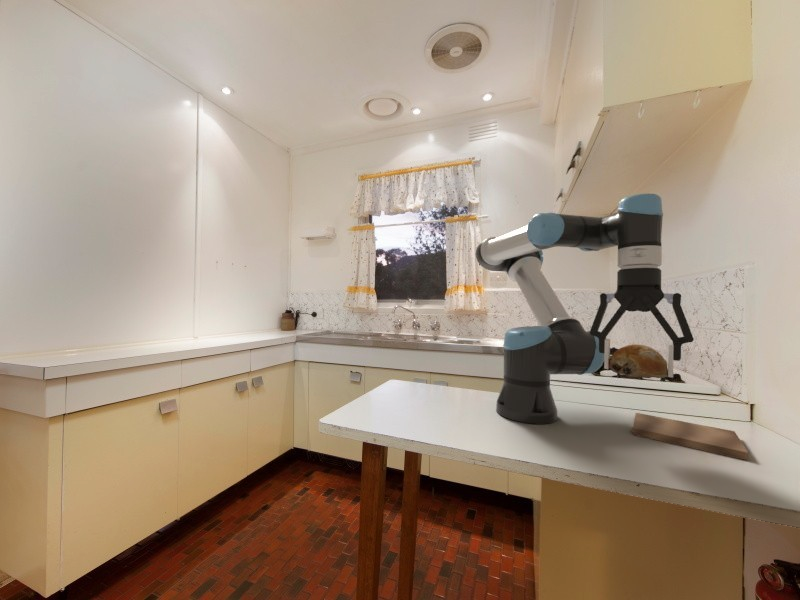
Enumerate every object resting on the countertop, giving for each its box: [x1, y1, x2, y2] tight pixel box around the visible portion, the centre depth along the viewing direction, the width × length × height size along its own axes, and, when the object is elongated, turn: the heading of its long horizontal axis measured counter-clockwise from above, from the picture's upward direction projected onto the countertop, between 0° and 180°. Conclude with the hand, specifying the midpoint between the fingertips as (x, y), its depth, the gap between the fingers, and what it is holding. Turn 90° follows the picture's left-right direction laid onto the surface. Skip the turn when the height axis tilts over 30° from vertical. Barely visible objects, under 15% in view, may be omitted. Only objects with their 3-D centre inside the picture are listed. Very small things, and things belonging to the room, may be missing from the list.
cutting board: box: [632, 412, 749, 461], centre depth 72 cm, size 18×14×2 cm
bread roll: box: [609, 343, 668, 379], centre depth 67 cm, size 10×10×8 cm
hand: (637, 372), depth 67 cm, fingers closed on bread roll, 10 cm apart
